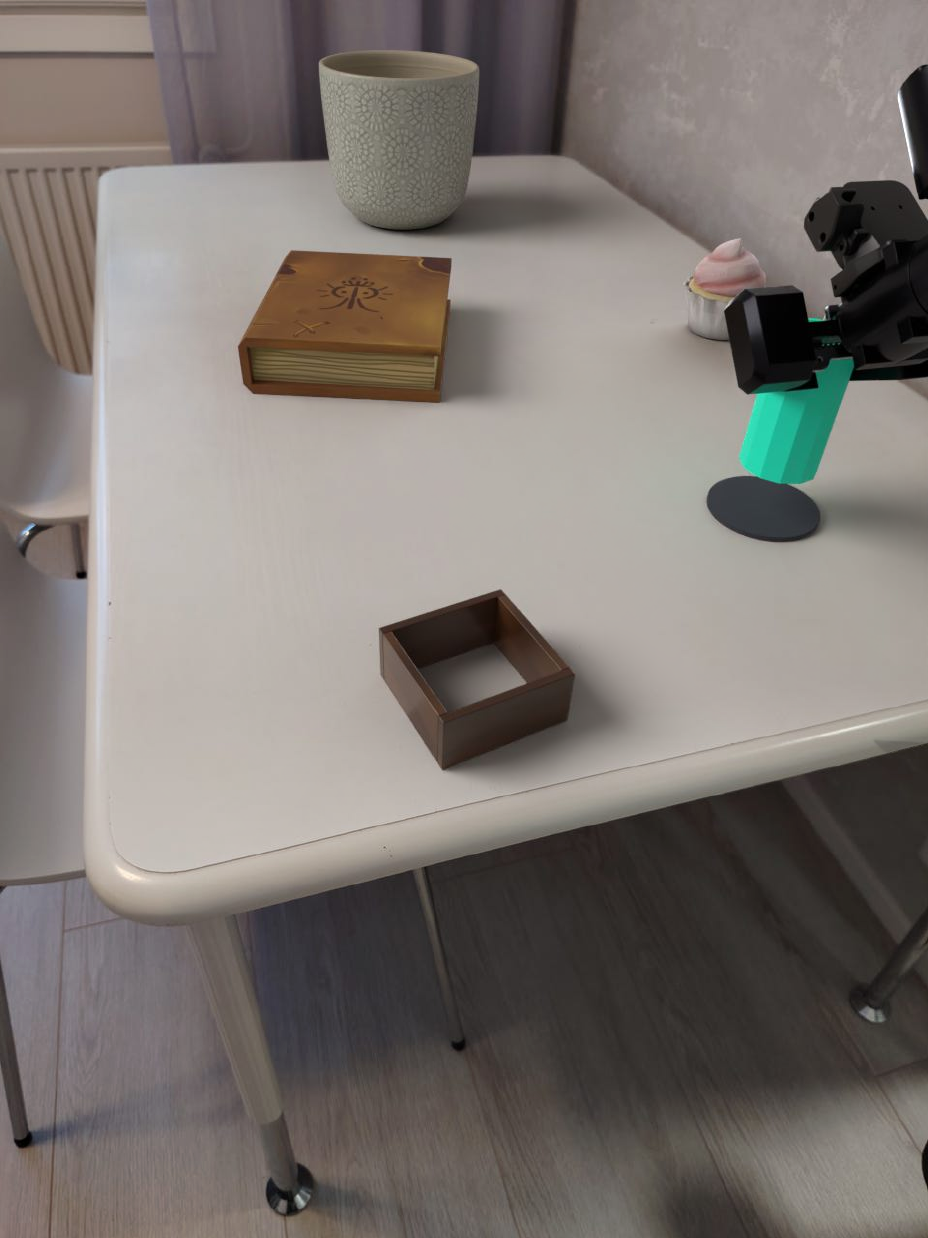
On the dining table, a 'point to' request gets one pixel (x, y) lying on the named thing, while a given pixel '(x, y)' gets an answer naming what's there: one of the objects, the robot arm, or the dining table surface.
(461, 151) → the planter
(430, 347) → the diary
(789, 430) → the candle
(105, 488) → the dining table surface
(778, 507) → the coaster
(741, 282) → the cupcake
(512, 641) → the holder
